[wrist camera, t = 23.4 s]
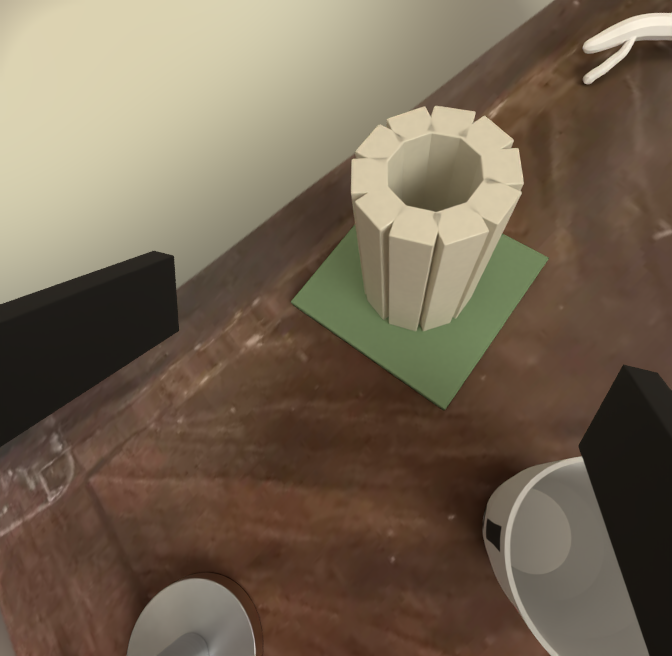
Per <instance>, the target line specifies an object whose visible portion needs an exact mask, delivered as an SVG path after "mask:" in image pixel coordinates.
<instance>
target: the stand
mask: <svg viewBox="0 0 672 656" xmlns="http://www.w3.org/2000/svg"><path fill="white" fill-rule="evenodd" d="M262 655H263V635H262V628H261V623H260V619H259V616H258V613H257V611H256V608H255V606H254V604H253V602H252V601H251V599H250V598H249V596H248V595H247V593H246V592H245V591H244V590H243V589H242V588H241V587H240V586H239V585H238V584H237V583H235V582H234V581H232V580H231V579H229V578H227V577H225V576H223V575H219V574H216V573H208V572H206V573H196V574H192V575H189V576H186V577H184V578H182V579H180V580H178V581H176V582H174V583H172V584H171V585H169V586H167V587H165V588H164V589H163V590H161V591H160V592H159V593H158V594H157V595H155V596H154V597H153V598H152V599H151V601H150V602H149V603H148V604H147V605H146V607H145V608H144V610H143V611H142V613H141V614H140V616H139V618H138V620H137V622H136V624H135V626H134V629H133V631H132V634H131V637H130V641H129V645H128V650H127V656H262Z"/></svg>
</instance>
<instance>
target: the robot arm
mask: <svg viewBox="0 0 672 656" xmlns="http://www.w3.org/2000/svg"><path fill="white" fill-rule="evenodd" d="M174 266H175V265H174V256H173V255H169V254H165V253H161V252H156V251H152V252H149V253H146V254H143V255H140V256H138V257H135V258H132V259H129V260H126V261H123V262H121V263H117V264H115V265H112V266H109V267H106V268H103V269H101V270H97V271H95V272H92V273H89V274H86V275H83V276H81V277H78V278H75V279H72V280H69V281H66V282H63V283H61V284H57V285H55V286H52V287H49V288H46V289H43V290H40V291H38V292H35V293H32V294H29V295H26V296H23V297H20V298H18V299H15V300H12V301H9V302H6V303H3V304H0V447H1V446H3V445H4V444H6V443H7V442H9V441H10V440H12V439H13V438H15V437H16V436H18V435H19V434H21V433H23V432H24V431H26V430H27V429H29V428H30V427H32V426H33V425H35V424H36V423H38V422H39V421H41V420H43V419H44V418H46V417H47V416H49V415H50V414H52V413H53V412H55V411H56V410H58V409H59V408H61V407H63V406H64V405H66V404H67V403H69V402H70V401H72V400H73V399H75V398H76V397H78V396H79V395H81V394H82V393H84V392H86V391H87V390H89V389H90V388H92V387H93V386H95V385H96V384H98V383H99V382H101V381H102V380H104V379H106V378H107V377H109V376H110V375H112V374H113V373H115V372H116V371H118V370H119V369H121V368H122V367H124V366H126V365H127V364H129V363H130V362H132V361H133V360H135V359H136V358H138V357H139V356H141V355H142V354H144V353H146V352H147V351H149V350H150V349H152V348H153V347H155V346H156V345H158V344H159V343H161V342H162V341H164V340H165V339H167V338H169V337H170V336H172V335H173V334H175V333H176V332H178V331H179V324H178V309H177V295H176V283H175V281H176V280H175V267H174ZM579 449H580V452H581V455H582V458H583V461H584V464H585V467H586V470H587V473H588V476H589V479H590V482H591V485H592V488H593V491H594V494H595V497H596V500H597V502H598V505H599V508H600V511H601V514H602V517H603V520H604V523H605V526H606V529H607V532H608V535H609V538H610V541H611V544H612V547H613V550H614V553H615V556H616V559H617V562H618V565H619V567H620V570H621V573H622V576H623V579H624V582H625V585H626V588H627V591H628V594H629V597H630V600H631V603H632V606H633V609H634V612H635V615H636V618H637V621H638V624H639V627H640V630H641V632H642V635H643V638H644V641H645V644H646V647H647V650H648V653H649V656H672V391H671V390H670V388H669V387H668V386H667V384H666V383H665V382H664V381H663V379H662V378H661V377H660V375H659V374H658V373H656V372H652V371H648V370H643V369H639V368H635V367H631V366H627V365H623V366H622V368H621V370H620V372H619V373H618V375H617V377H616V379H615V381H614V382H613V384H612V386H611V388H610V390H609V391H608V393H607V395H606V397H605V399H604V401H603V402H602V404H601V406H600V408H599V410H598V411H597V413H596V415H595V417H594V419H593V420H592V422H591V424H590V426H589V428H588V429H587V431H586V433H585V435H584V437H583V438H582V440H581V442H580V444H579Z"/></svg>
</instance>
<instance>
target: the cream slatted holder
mask: <svg viewBox="0 0 672 656" xmlns="http://www.w3.org/2000/svg"><path fill="white" fill-rule="evenodd" d="M474 118H475V112H473V111H467V110H460V109H454V108H448V107H441V106H435V107H434V109H433V112H432V115H431V117H430V115H429V113H428V111H427V109H426V107H425V106H424V107H421V108H418V109H415V110H412V111H409V112H406V113H403V114H400V115H397V116H394V117H391V118H388V119H387V128H386V127H384V126H382V125H380V124H379V125H378V126H377V127H376V128H375V129H374V130H373V132H372V133H371V134H370V135H369V136H368V137H367V139H366V140H365V141H364V142H363V143H362V144H361V145H360V147H359V148H358V149H357V150H356V152H355V154H356V159H352V165H351V198H352V205H353V212H354V219H355V226H356V233H357V241H358V248H359V255H360V262H361V269H362V277H363V284H364V291H365V294H367V300H368V302H369V303H370V304H371V305H372V307H373V308H374V309H375V310H376V312H377V313H378V314H379V315H380V317H381V318H382V319H383V320H384V319H385V318H387V317H388V316H389V324H392V325H395V326H399V327H402V328H406V329H409V330H413V331H417V328H418V324H419V323H420V326H421V328H422V331H426V330H429V329H432V328H436V327H439V326H442V325H445V324H448V323H450V322H451V320H452V317H453V318H455V319H456V318H457V317H458V315H459V314H460V312H461V311H462V310H463V308H464V307H465V305H466V304H467V303H468V301H469V300H470V298H471V297H472V295H473V293H474V290H475V288H476V286H477V284H478V282H479V280H480V278H481V276H482V274H483V272H484V270H485V268H486V266H487V264H488V262H489V260H490V257H491V255H492V253H493V251H494V249H495V247H496V245H497V243H498V241H499V239H500V237H501V235H502V233H503V231H504V229H505V227H506V224H507V222H508V220H509V218H510V216H511V214H512V212H513V210H514V208H515V206H516V204H517V202H518V200H519V198H520V196H521V194H522V192H520V190H521V188H522V186H523V184H524V182H523V175H522V169H521V162H520V155H519V149H518V148H512V149H511V147H512V144H513V141H514V140H513V139H512V138H511V137H510V136H508V135H507V134H506V133H505V132H504V131H502V130H501V129H500V128H499V127H498V126H496V125H495V124H494V123H493V122H492V121H490V120H489V119H488V118H487V117H486V116H483V117H482V118H480V119H479V120H477V121H476V122H474ZM473 122H474V123H473Z"/></svg>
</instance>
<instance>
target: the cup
mask: <svg viewBox="0 0 672 656" xmlns="http://www.w3.org/2000/svg"><path fill="white" fill-rule="evenodd" d="M483 538H484V543H485V547H486V550H487V553H488V556H489V559H490V562H491V565H492V568H493V571H494V573H495V576H496V578H497V580H498V582H499V584H500V586H501V588H502V589H503V591H504V593H505V594H506V596H507V597H508V598H509V600H510V601H511V603H512V604H513V606H514V607H515V608H516V610H517V611H518V613H519V614H520V616H521V617H522V618H523V620H524V621H525V623H526V624H527V626H528V627H529V628H530V630H531V631H532V633H533V634H534V635H535V637H536V638H537V640H538V641H539V642H540V643H541V645H542V646H543V647H544V648H545V649H546V650H547V651H548V652H549V654H550V655H551V656H649V653H648V650H647V647H646V644H645V641H644V638H643V635H642V632H641V630H640V627H639V624H638V621H637V618H636V615H635V612H634V609H633V606H632V603H631V600H630V597H629V594H628V591H627V588H626V585H625V582H624V579H623V576H622V573H621V570H620V567H619V565H618V562H617V559H616V556H615V553H614V550H613V547H612V544H611V541H610V538H609V535H608V532H607V529H606V526H605V523H604V520H603V517H602V514H601V511H600V508H599V505H598V502H597V500H596V497H595V494H594V491H593V488H592V485H591V482H590V479H589V476H588V473H587V470H586V467H585V464H584V461H583V458H582V457H576V458H570V459H565V460H560V461H555V462H550V463H545V464H540V465H536V466H533V467H530V468H527V469H525V470H523V471H521V472H519V473H518V474H516V475H515V476H513V477H512V478H510V479H509V480H507V481H506V482H504V483H503V484H501V485H500V486H499V487H498V488H497V489H496V490H495V491H494V493H493V494H492V496H491V497H490V499H489V501H488V503H487V505H486V508H485V512H484V516H483Z"/></svg>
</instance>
